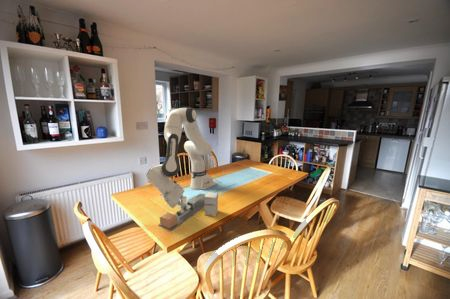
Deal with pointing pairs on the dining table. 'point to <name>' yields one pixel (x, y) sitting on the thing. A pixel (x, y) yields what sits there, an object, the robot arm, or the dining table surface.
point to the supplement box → (211, 203)
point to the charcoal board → (184, 217)
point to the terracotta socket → (168, 220)
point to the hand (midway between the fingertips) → (184, 204)
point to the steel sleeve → (196, 201)
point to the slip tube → (186, 207)
